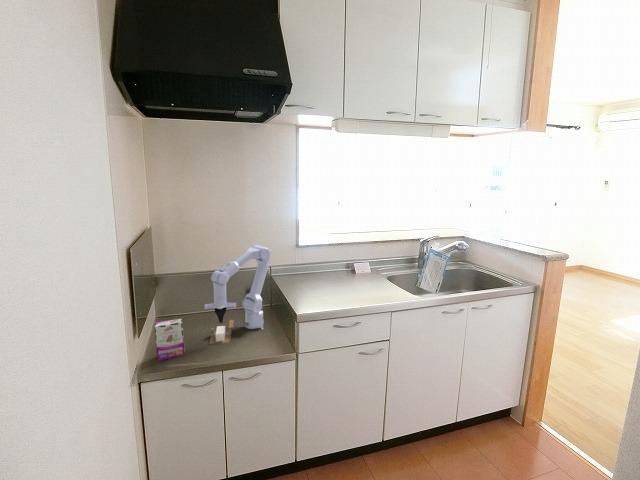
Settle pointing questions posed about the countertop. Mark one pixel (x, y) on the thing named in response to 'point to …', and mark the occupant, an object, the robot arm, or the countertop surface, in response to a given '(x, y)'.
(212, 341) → the brown stand with pegs
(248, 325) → the gray and orange bar
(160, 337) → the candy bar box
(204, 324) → the countertop surface
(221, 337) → the white block
